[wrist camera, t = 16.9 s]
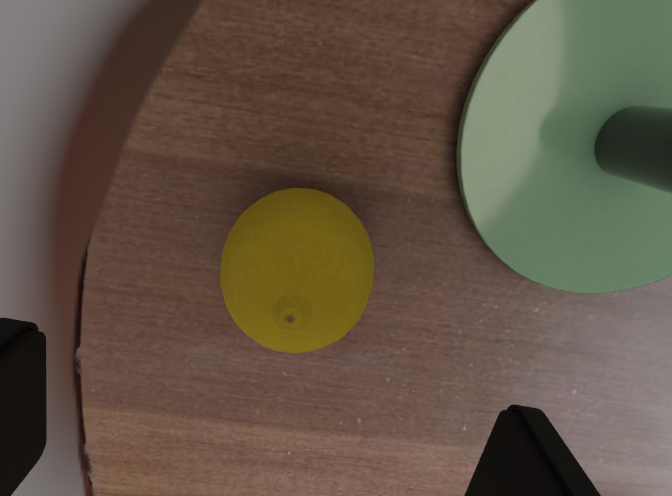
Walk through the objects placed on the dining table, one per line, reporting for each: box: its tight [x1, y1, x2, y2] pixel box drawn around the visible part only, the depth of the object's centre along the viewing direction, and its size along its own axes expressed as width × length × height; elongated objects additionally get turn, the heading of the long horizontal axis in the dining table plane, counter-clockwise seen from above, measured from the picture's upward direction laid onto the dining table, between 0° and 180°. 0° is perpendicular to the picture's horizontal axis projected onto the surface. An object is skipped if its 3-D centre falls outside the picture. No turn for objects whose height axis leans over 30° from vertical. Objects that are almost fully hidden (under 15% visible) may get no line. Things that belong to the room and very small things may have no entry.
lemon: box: [220, 188, 375, 353], centre depth 16 cm, size 6×6×8 cm
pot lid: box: [457, 0, 672, 293], centre depth 16 cm, size 14×14×6 cm
